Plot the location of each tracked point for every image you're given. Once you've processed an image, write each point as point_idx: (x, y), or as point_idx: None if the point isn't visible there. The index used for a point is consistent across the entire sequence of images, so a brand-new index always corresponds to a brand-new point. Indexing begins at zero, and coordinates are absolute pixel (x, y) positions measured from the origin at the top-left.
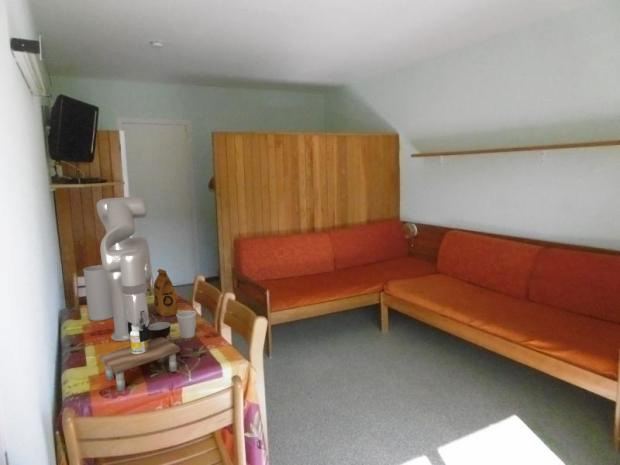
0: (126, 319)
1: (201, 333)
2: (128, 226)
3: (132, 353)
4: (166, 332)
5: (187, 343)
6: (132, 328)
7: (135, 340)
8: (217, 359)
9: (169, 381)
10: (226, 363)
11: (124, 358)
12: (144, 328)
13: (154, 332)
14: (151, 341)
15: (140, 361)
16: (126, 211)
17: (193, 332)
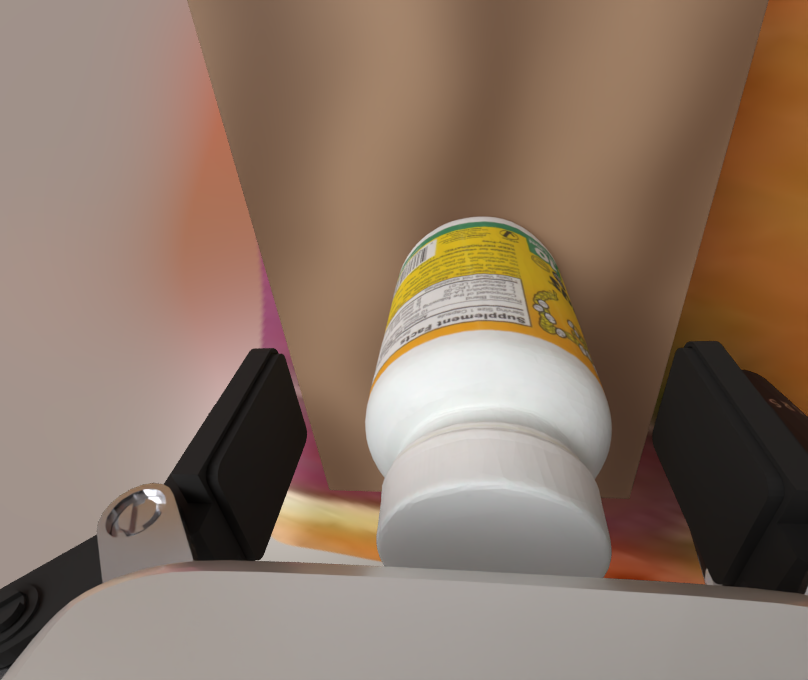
0: (716, 622)
1: (690, 583)
2: None
3: (480, 215)
4: (693, 538)
5: (646, 512)
6: (467, 448)
7: (399, 323)
8: (356, 506)
9: (265, 290)
10: (295, 508)
11: (408, 99)
12: (79, 558)
13: None
14: None
15: (255, 215)
16: None
17: (704, 579)
